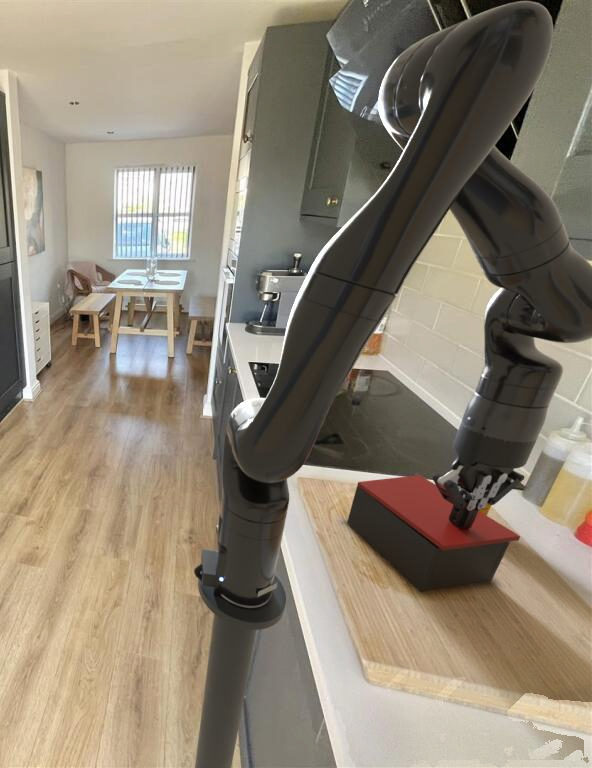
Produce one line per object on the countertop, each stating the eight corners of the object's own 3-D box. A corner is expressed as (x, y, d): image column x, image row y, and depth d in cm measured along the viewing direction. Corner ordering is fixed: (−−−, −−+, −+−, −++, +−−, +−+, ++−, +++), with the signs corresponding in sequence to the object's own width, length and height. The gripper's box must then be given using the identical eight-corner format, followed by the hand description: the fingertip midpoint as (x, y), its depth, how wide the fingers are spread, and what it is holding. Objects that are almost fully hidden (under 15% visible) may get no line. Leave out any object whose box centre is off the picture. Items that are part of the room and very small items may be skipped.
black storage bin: (491, 581, 63) (511, 538, 60) (420, 591, 62) (436, 548, 59) (405, 516, 78) (418, 478, 75) (346, 523, 77) (356, 485, 73)
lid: (518, 540, 59) (520, 536, 59) (443, 550, 58) (444, 546, 58) (418, 478, 75) (419, 474, 74) (357, 485, 73) (357, 481, 73)
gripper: (484, 444, 51) (444, 548, 58) (574, 435, 52) (524, 537, 59) (430, 418, 58) (399, 513, 64) (510, 410, 59) (472, 504, 66)
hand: (459, 524), depth 62 cm, fingers closed
